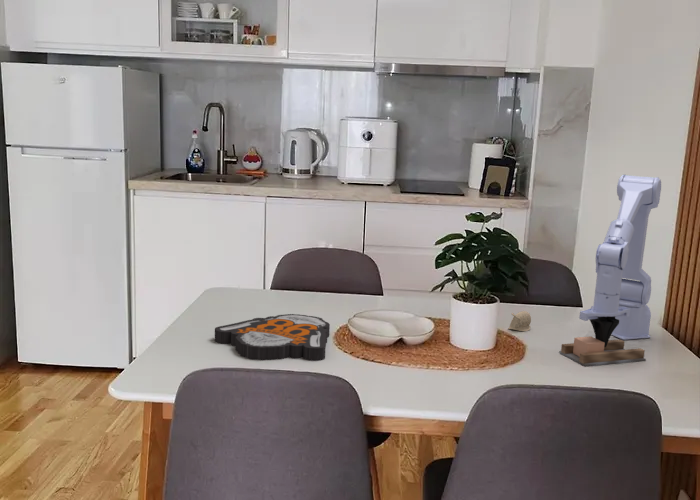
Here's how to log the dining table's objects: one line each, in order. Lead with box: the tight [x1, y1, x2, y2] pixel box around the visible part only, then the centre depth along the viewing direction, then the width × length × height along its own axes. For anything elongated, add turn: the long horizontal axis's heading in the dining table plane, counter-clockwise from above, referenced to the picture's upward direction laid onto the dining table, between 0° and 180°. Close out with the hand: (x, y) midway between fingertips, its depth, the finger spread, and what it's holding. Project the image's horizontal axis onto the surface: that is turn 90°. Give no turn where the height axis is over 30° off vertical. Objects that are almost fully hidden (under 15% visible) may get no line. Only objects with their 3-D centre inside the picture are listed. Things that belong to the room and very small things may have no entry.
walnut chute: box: [558, 339, 647, 368], centre depth 175 cm, size 18×10×2 cm, turn 110°
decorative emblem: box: [214, 313, 330, 362], centre depth 176 cm, size 29×3×30 cm
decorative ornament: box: [507, 310, 532, 332], centre depth 195 cm, size 4×8×5 cm, turn 126°
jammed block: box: [573, 336, 605, 357], centre depth 174 cm, size 5×5×4 cm
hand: (601, 346), depth 175 cm, fingers closed
